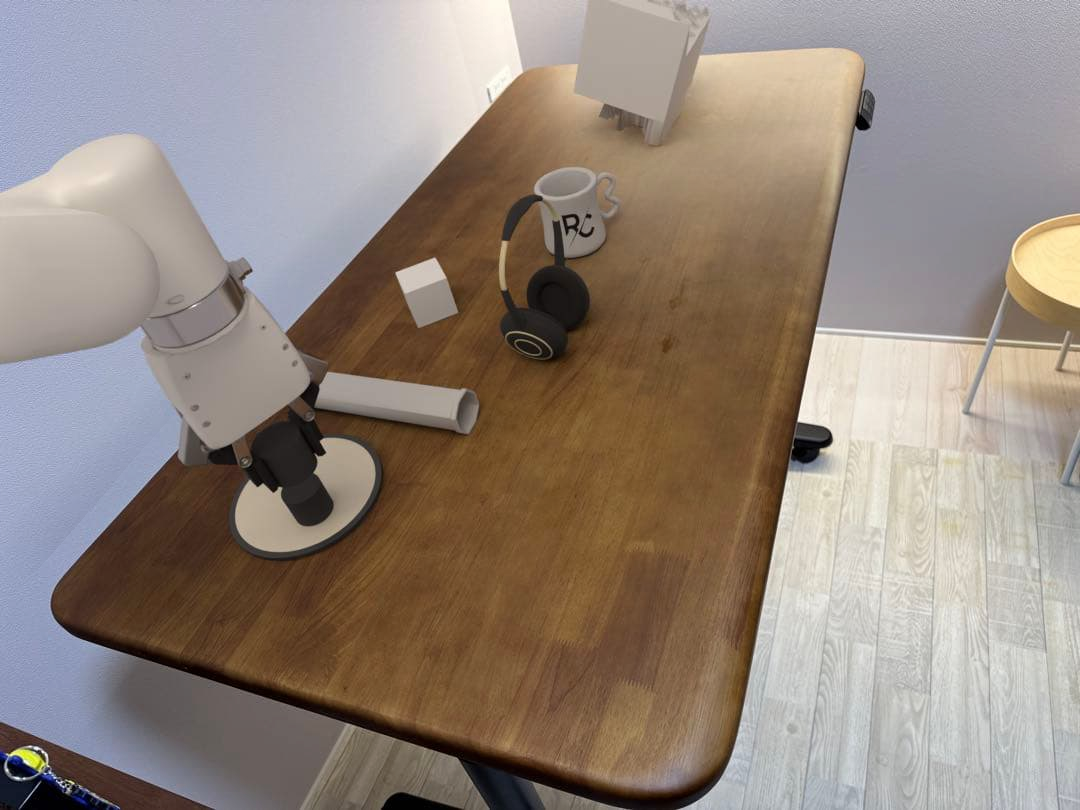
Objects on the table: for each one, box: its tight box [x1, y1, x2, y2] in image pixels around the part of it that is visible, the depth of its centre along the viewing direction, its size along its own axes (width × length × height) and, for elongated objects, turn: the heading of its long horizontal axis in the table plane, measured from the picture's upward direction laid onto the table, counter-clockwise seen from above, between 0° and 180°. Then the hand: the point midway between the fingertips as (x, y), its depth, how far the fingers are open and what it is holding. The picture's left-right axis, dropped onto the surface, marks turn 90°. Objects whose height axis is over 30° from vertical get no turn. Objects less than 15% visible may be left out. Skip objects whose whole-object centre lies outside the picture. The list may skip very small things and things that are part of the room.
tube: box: [314, 371, 480, 436], centre depth 95 cm, size 5×5×25 cm
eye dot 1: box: [250, 420, 318, 488], centre depth 69 cm, size 4×4×4 cm
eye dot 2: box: [281, 473, 334, 526], centre depth 85 cm, size 4×4×4 cm
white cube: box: [395, 257, 459, 329], centre depth 109 cm, size 6×6×6 cm
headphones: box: [498, 193, 591, 360], centre depth 93 cm, size 9×15×20 cm, turn 154°
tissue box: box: [573, 0, 712, 147], centre depth 129 cm, size 20×16×25 cm
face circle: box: [228, 433, 384, 562], centre depth 89 cm, size 18×18×1 cm
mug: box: [533, 166, 621, 259], centre depth 112 cm, size 12×9×10 cm
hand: (291, 464), depth 70 cm, fingers closed on eye dot 1, 4 cm apart
